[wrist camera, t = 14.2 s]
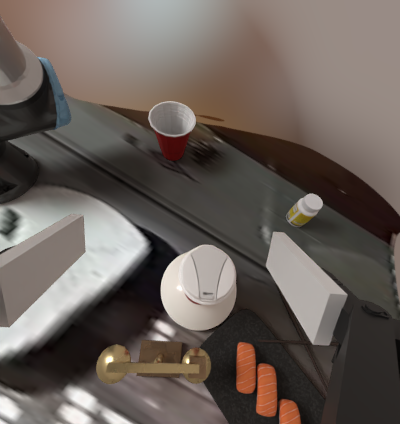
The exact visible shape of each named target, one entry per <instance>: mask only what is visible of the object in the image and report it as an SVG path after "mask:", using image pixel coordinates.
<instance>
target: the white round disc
mask: <svg viewBox="0 0 400 424" xmlns="http://www.w3.org/2000/svg"><path fill="white" fill-rule="evenodd" d="M187 253H188V252H187ZM187 253H184V254H182V255H180V256H178V257H177V258H176V259H174V260H173V261H172V262H171V264H170V265H169V266H168V267H167V269H166V271H165V273H164V275H163V278H162V282H161V298H162V302H163V305H164V307H165V310H166V311H167V313H168V314H169V316H170V317H171V318H172V319H173V320H174V321H175V322H176V323H178V324H179V325H181V326H182V327H185V328H187V329H191V330H208V329H211V328H213V327H215V326H217V325H219V324H220V323H222V322H223V321H224V320H225V319H226V318H227V317H228V315H229V314H230V312H231V311H232V309H233V306H234V304H235V300H236V291H237V290H236V283H235V286H234V289H233V291H232V292H231V294H230V295H229V296H228V297H227V298H226V299H225V300H224V301H222V302H220V303H218V304H214V305H198V304H194V303H192V302H191V301H189V300H188V298H187V297H186V295H185V293H184V291H183V290H182V288H181V286H180V282H179V277H178V273H179V266H180V264H181V261H182V259H183V258H184V257H185V255H186V254H187Z"/></svg>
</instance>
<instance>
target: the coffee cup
mask: <svg viewBox="0 0 400 424" xmlns="http://www.w3.org/2000/svg"><path fill="white" fill-rule="evenodd" d="M178 277H179V282H180V286H181V288H182V290H183V291H184V293H185V295H186V297H187V298H188V300H189V301H191V302H192V303H194V304H198V305H214V304H218V303H220V302H222V301H224V300H225V299H226V298H227V297H228V296H229V295H230V294H231V292H232V291H233V289H234V286H235V283H236V270H235V266H234V264H233V262H232V260H231V259H230V257H229V256H228V255H227V254H226V253H225V252H224V251H222V250H220V249H218V248H217V247H215V246H212V245H200V246H198V247H196V248H194V249H192V250H191V251H190V252H188V253H187V254H186V255H185V257H184V258H183V259H182V261H181V264H180V266H179V273H178Z"/></svg>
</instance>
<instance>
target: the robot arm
mask: <svg viewBox="0 0 400 424" xmlns="http://www.w3.org/2000/svg"><path fill="white" fill-rule="evenodd" d="M70 121H71V113H70V110H69V107H68V104H67V101H66V99H65V97H64V94H63V91H62V88H61V85H60V83H59V80H58V78H57V76H56V73H55V71H54V69H53V67H52V65H51V63H50V61H49V60H48V59H46V58H40V57H36V55H35V54H34V53H33V52H32V51H31V50H30V49H29V48H27V47H26V46H25V45H23V44H22V43H20V42H18V41H16V40H15V39H14V37H13V36H12V34H11V32H10V31H9V29H8V28H7V26H6V25H5V23H4V21H3V20H2V18H1V16H0V203H5V202H8V201H11V200H13V199H15V198H17V197H19V196H21V195H22V194H24V193H25V192H26V191H28V190H29V189H30V188H31V187H32V185H33V184H34V183H35V181H36V179H37V176H38V165H37V163H36V162H35V161H34V159H33V158H32V157H31V156H30V155H29V154H28V153H27V152H25V151H24V150H22V149H20V148H19V147H17V146H15V145H13V144H12V143H10V142H8V140H12V139H16V138H20V137H24V136H28V135H31V134H36V133H40V132H44V131H48V130H55V129H57V128H58V127H62V126H65V125H68V124H69V123H70ZM84 253H85V235H84V218H83V215H78V214H71V215H69V216H67V217H65V218H64V219H62V220H60V221H58V222H57V223H55V224H53V225H51V226H49V227H48V228H46V229H44V230H42V231H41V232H39V233H37V234H35V235H34V236H32V237H30V238H28V239H27V240H25V241H23V242H21V243H20V244H18V245H16V246H13V247H10V248H7V249H5V250H3V251H1V252H0V327H10V326H11V325H12V324H13V323H14V322H15V321H16V320H17V319H18V318H19V317H20V316H21V315H22V314H23V313H24V312H25V311H26V310H27V309H28V308H29V307H30V306H31V305H32V304H33V303H34V302H35V301H36V300H37V299H38V298H39V297H40V296H41V295H42V294H43V293H44V292H45V291H46V290H47V289H48V288H49V287H50V286H51V285H52V284H53V283H54V282H55V281H56V280H57V279H58V278H59V277H60V276H61V275H62V274H63V273H64V272H65V271H66V270H67V269H68V268H69V267H70V266H72V265H73V264H74V263H75V262H76V261H77V260H78V259H79V258H80V257H81V256H82V255H83V254H84ZM266 267H267V268H268V270H269V272H270V273H271V275H272V277H273V279H274V280H275V282H276V284H277V285H278V287H279V289H280V290H281V292H282V294H283V295H284V297H285V299H286V300H287V302H288V304H289V305H290V307H291V309H292V310H293V312H294V314H295V316H296V317H297V319H298V321H299V322H300V324H301V326H302V327H303V329H304V331H305V332H306V334H307V336H308V337H309V339H310V341H311V342H312V344H313V345H326V346H329V345H330V342H331V339H332V337H333V335H334V337H335V338H336V339H337V341H338V342H339V343H338V346H337V349H336V351H335V354H334V357H333V359H332V363H333V367H332V372H331V377H330V382H329V386H328V391H327V396H326V401H325V405H324V410H323V415H322V420H321V424H400V321H399V320H395V319H392V317H391V315H390V314H389V313H388V312H387V311H386V310H384V309H383V308H381V307H380V306H378V305H376V304H374V303H371V302H368V301H364V300H359V299H358V298H357V297H356V296H355V295H354V294H353V293H352V292H351V291H349V290H348V289H347V288H346V287H345V286H343V284H342V283H341V282H340V281H338V279H337V278H336V277H335V276H333V275H332V274H331V273H330V272H328V271H326V270H325V269H323V268H320V267H319V266H318V265H317V264H316V263H315V262H314V261H313V260H312V259H311V258H310V257H309V256H307V255H306V254H305V253H304V252H303V251H302V250H301V249H300V248H299V247H298V246H297V245H296V244H295V243H294V242H293V241H292V240H291V239H290V238H289V237H288V236H287V235H286V234H285V233H283V232H273V236H272V241H271V245H270V250H269V254H268V259H267V263H266Z"/></svg>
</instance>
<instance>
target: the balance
mask: <svg viewBox="0 0 400 424" xmlns="http://www.w3.org/2000/svg"><path fill="white" fill-rule="evenodd" d="M181 350H182V342H172V341H154V340H142V344H141V350H140V356H139V363H134V362H131V357H130V353H129V351H128V350H127V349H126V348H125V347H124V346H122V345H113V346H110V347H108V348H107V349H105V350H104V351H103V352H102V353H101V355H100V357H99V359H98V362H97V374H98V377H99V378H100V380H101V381H102V382H104V383H107V384H114V383H117V382H119V381H120V380H121V379H122V378H124V376H125V375H126V374H127V373H137V376H153V377H174V378H179V375H180V373H183V375H184V376H185V378H186V379H187V380H188V381H189V382H191V383H195V384H198V383H201V382H203V381H204V380H205V379H206V378H207V377H208V375H209V373H210V370H211V361H210V358H209V356H208V354H207V353H206V352H205V351H204V350H203V349H201V348H192V349H190V350H188V351H187V352H186V354H185V355H184V357H183V360H182V363H180V362H181Z"/></svg>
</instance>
